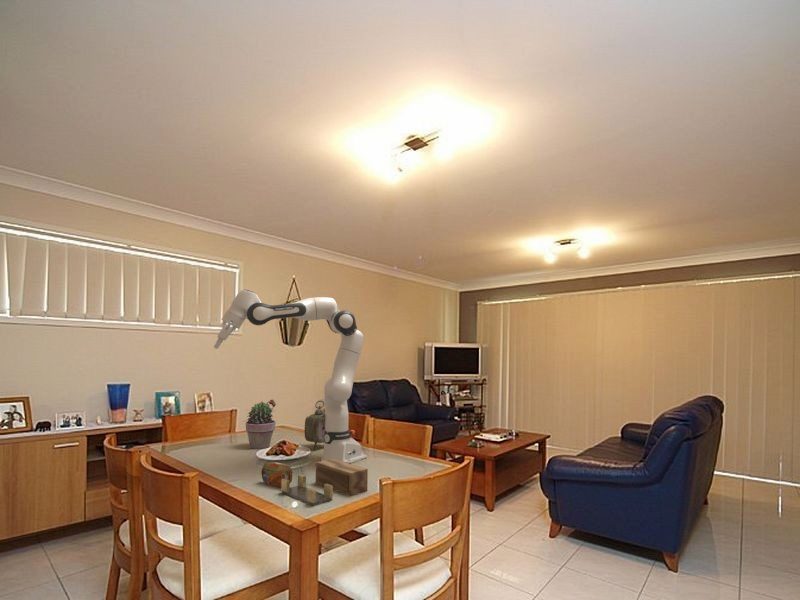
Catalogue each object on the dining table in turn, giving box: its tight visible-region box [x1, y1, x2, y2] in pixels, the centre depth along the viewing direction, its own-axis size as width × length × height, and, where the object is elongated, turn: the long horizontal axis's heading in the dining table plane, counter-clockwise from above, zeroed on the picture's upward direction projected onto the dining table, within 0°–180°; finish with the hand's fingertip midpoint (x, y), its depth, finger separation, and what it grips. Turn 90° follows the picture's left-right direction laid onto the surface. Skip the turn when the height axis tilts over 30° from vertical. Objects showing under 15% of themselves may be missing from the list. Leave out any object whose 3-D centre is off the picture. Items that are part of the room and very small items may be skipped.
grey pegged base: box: [280, 474, 334, 507], centre depth 164 cm, size 8×20×5 cm, turn 46°
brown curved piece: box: [261, 461, 293, 488], centre depth 177 cm, size 15×3×8 cm, turn 58°
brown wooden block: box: [314, 459, 369, 496], centre depth 175 cm, size 8×22×8 cm, turn 46°
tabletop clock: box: [304, 400, 326, 451], centre depth 242 cm, size 14×9×25 cm, turn 149°
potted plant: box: [241, 399, 277, 450], centre depth 243 cm, size 18×20×25 cm
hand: (215, 347), depth 202 cm, fingers open, 8 cm apart
